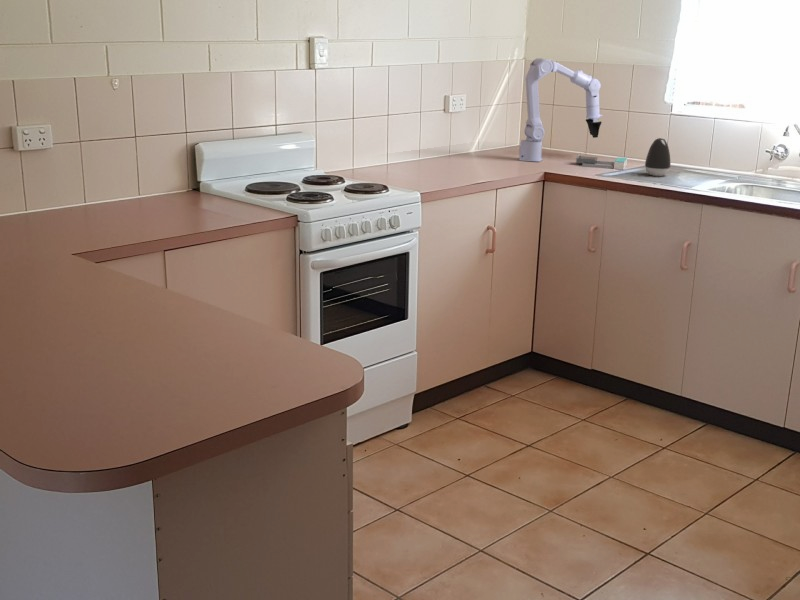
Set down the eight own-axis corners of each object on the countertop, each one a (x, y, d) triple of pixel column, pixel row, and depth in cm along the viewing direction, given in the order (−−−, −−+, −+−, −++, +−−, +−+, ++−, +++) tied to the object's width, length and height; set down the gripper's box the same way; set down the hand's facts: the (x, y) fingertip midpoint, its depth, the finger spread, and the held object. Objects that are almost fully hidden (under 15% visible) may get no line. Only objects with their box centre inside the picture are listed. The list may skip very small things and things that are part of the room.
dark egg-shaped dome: (672, 174, 386) (676, 138, 382) (665, 178, 378) (669, 140, 373) (648, 172, 392) (652, 135, 387) (640, 175, 383) (644, 138, 379)
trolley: (576, 165, 405) (576, 154, 404) (578, 162, 412) (579, 152, 410) (594, 166, 403) (595, 156, 401) (596, 164, 409) (597, 154, 408)
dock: (582, 166, 402) (582, 159, 401) (586, 162, 413) (586, 155, 412) (623, 169, 397) (623, 162, 396) (626, 165, 407) (627, 158, 406)
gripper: (604, 106, 407) (605, 137, 411) (599, 102, 421) (600, 132, 425) (588, 108, 408) (589, 139, 412) (583, 104, 421) (584, 133, 426)
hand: (594, 136), depth 419 cm, fingers open, 7 cm apart
